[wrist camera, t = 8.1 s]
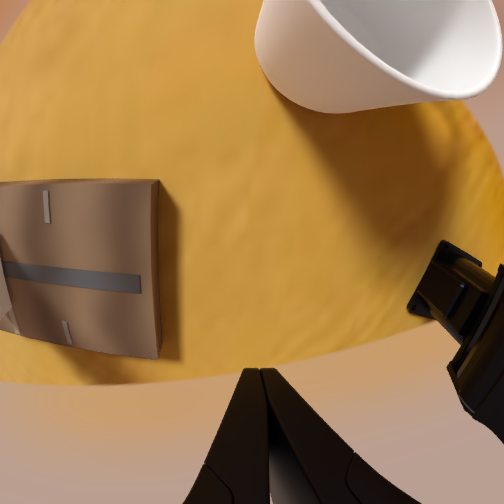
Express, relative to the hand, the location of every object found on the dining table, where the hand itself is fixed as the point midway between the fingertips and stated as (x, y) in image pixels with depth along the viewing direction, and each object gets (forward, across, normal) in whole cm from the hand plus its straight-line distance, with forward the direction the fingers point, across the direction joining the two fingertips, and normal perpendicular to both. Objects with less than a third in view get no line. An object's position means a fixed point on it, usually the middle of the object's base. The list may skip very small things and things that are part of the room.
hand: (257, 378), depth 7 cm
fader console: (+12, +13, +3) cm, 18 cm away
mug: (+12, -6, -13) cm, 19 cm away
